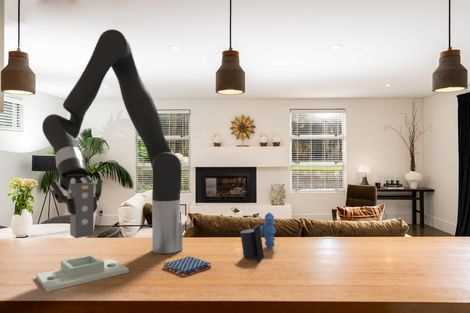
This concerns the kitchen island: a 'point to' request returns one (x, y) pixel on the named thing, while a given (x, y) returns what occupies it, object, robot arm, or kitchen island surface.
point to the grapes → (268, 230)
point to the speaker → (252, 243)
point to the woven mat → (187, 266)
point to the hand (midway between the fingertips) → (84, 211)
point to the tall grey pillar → (82, 210)
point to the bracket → (80, 272)
